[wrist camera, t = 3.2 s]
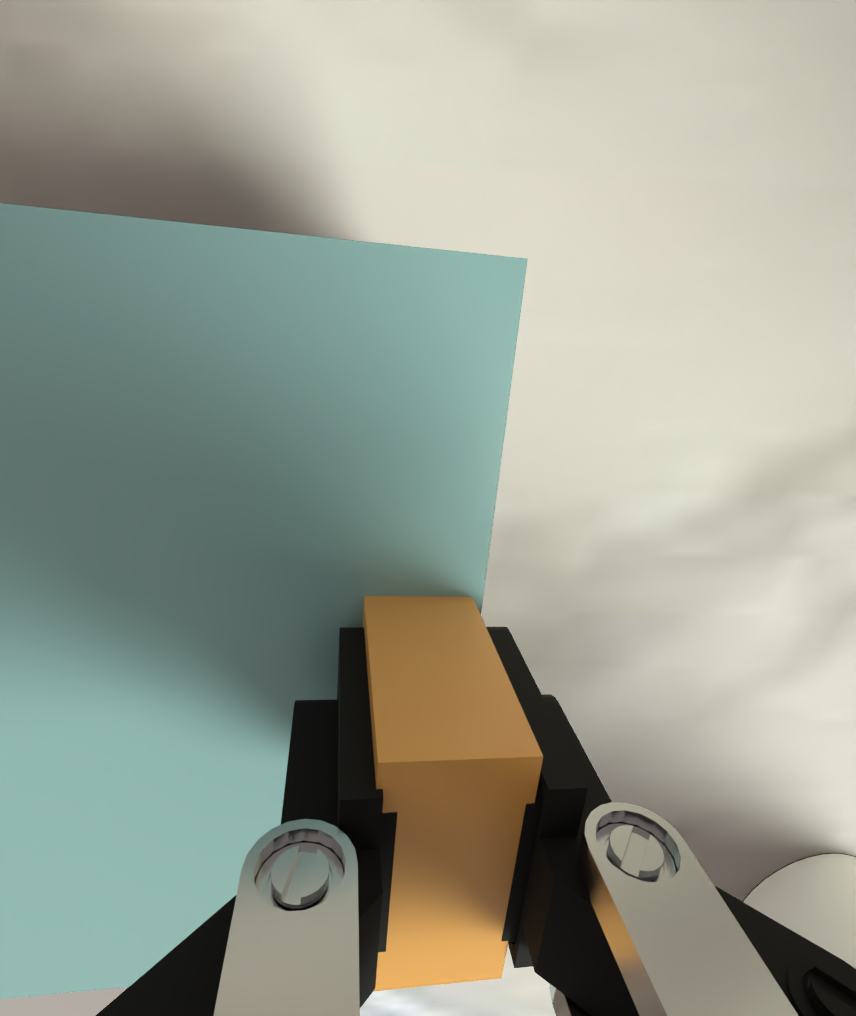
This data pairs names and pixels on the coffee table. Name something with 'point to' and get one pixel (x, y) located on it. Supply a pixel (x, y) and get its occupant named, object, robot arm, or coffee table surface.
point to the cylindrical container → (814, 901)
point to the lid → (244, 578)
